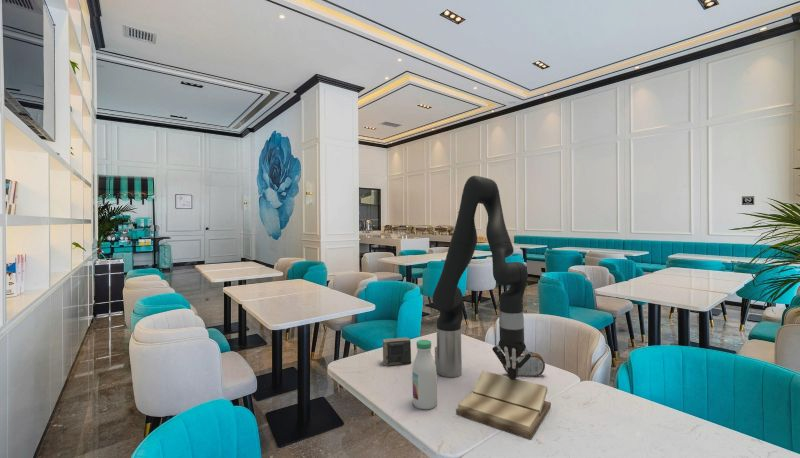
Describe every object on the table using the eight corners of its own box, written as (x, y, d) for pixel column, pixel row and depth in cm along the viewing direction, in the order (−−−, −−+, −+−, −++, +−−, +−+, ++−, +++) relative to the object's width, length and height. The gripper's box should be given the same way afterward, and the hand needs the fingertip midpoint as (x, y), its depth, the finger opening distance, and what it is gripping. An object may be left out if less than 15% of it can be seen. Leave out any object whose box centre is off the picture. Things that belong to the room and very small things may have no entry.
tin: (543, 374, 135) (543, 351, 135) (546, 377, 132) (545, 355, 132) (502, 373, 137) (501, 351, 137) (503, 377, 134) (503, 354, 134)
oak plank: (473, 394, 117) (472, 391, 117) (483, 373, 123) (482, 370, 123) (540, 414, 105) (539, 410, 104) (547, 389, 111) (547, 386, 110)
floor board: (456, 414, 109) (455, 404, 109) (483, 388, 125) (483, 379, 125) (530, 439, 96) (530, 428, 96) (550, 407, 112) (550, 397, 112)
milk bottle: (439, 399, 118) (438, 338, 117) (434, 412, 111) (432, 346, 110) (416, 396, 120) (415, 336, 120) (409, 408, 113) (408, 344, 113)
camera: (409, 359, 152) (409, 336, 152) (412, 365, 146) (411, 340, 146) (382, 361, 150) (381, 337, 150) (383, 367, 145) (383, 342, 145)
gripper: (536, 325, 115) (537, 379, 115) (496, 319, 123) (497, 369, 123) (529, 331, 109) (530, 388, 109) (487, 324, 117) (488, 378, 117)
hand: (512, 378), depth 116 cm, fingers closed
